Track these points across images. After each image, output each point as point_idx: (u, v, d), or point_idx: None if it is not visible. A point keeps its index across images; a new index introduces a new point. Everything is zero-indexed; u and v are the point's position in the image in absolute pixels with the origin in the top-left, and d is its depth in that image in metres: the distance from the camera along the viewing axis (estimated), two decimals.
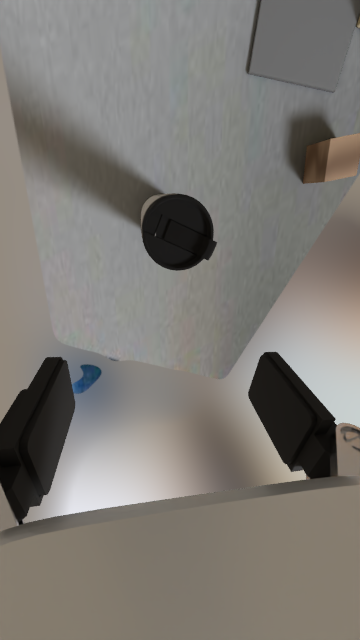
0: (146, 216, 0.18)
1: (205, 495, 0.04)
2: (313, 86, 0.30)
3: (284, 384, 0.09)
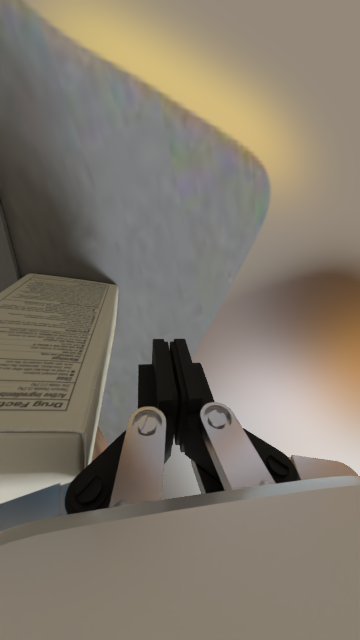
0: None
1: (205, 495, 0.04)
2: None
3: (175, 368, 0.09)
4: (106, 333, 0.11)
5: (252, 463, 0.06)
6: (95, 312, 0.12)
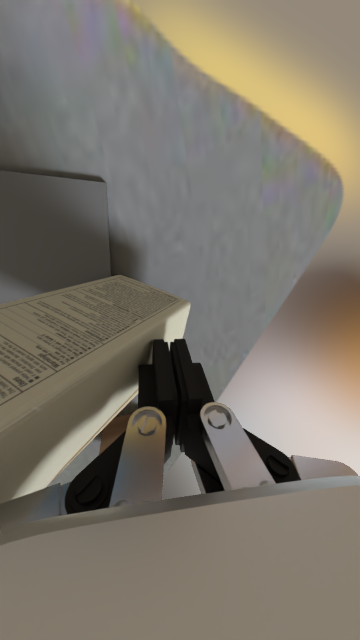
0: None
1: (205, 495, 0.04)
2: None
3: (175, 367, 0.09)
4: (121, 348, 0.09)
5: (252, 463, 0.06)
6: (135, 322, 0.10)
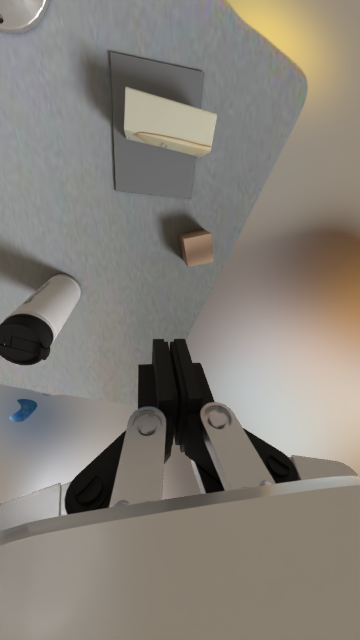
0: None
1: (205, 495, 0.04)
2: (172, 196, 0.39)
3: (175, 367, 0.09)
4: (167, 99, 0.28)
5: (252, 463, 0.06)
6: None
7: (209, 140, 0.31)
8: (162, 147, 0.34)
